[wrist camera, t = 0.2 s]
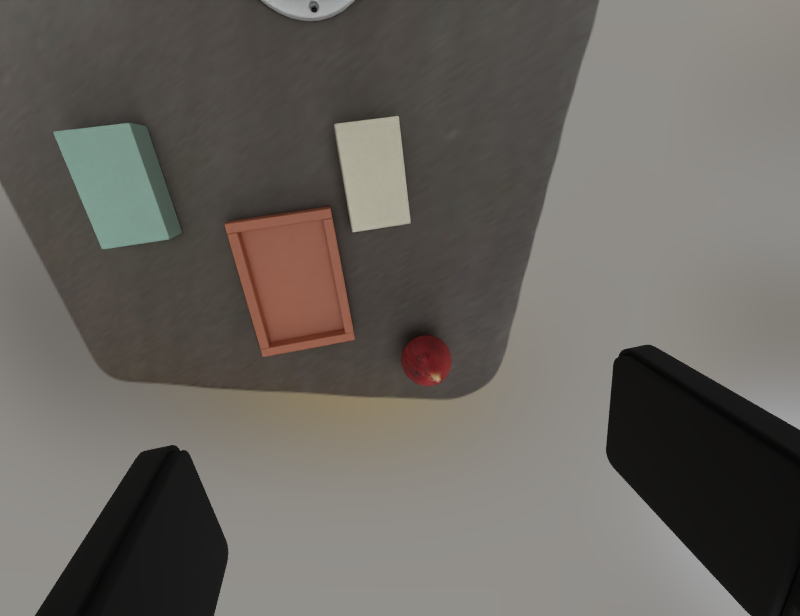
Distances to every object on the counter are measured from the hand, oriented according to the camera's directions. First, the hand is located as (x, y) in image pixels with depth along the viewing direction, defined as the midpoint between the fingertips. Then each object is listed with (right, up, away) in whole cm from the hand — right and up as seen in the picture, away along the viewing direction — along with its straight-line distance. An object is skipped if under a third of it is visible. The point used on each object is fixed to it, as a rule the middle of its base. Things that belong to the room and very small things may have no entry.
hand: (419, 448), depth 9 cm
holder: (-12, +6, +35) cm, 38 cm away
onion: (+2, -2, +41) cm, 41 cm away
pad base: (-26, +15, +29) cm, 42 cm away
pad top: (-3, +17, +32) cm, 37 cm away
